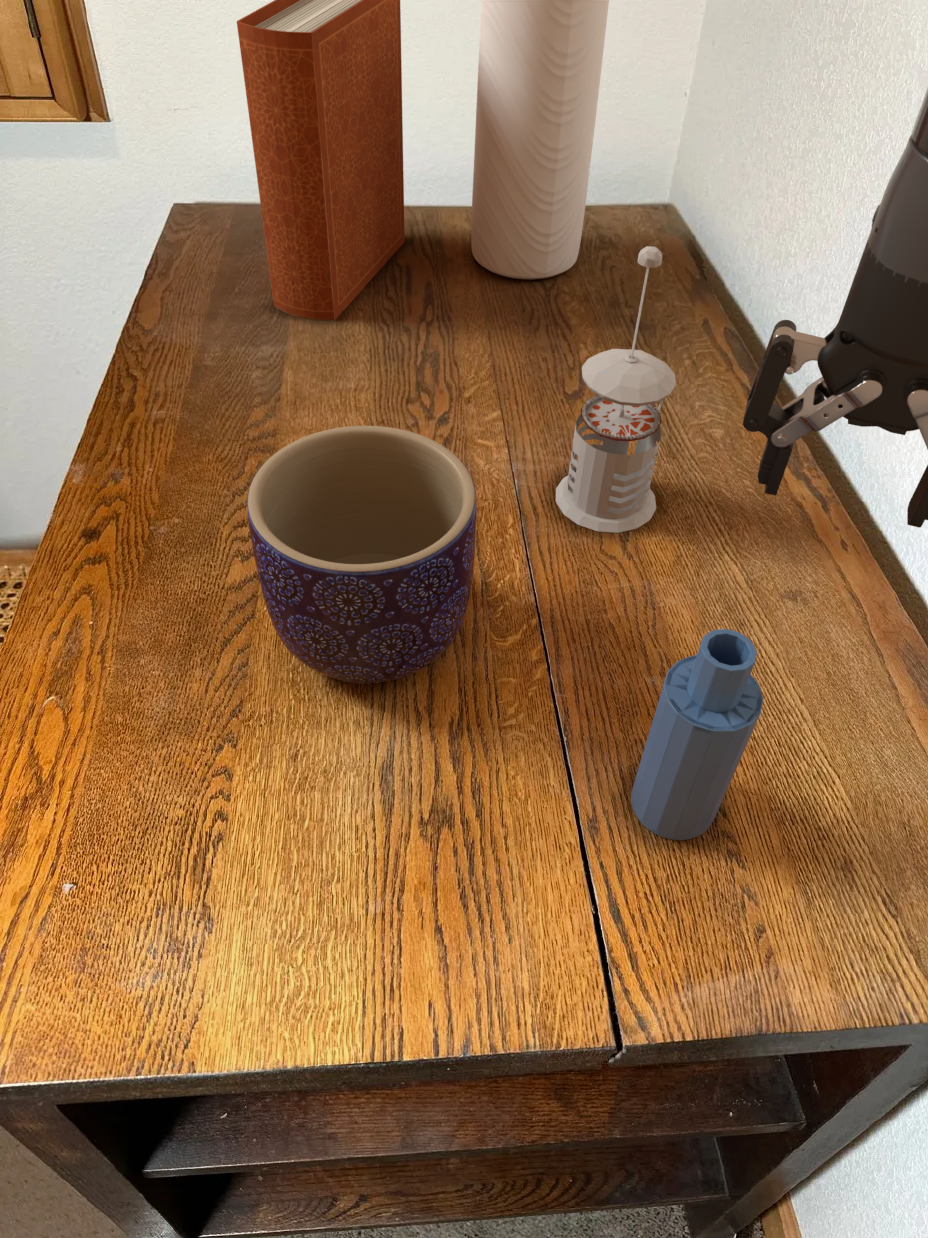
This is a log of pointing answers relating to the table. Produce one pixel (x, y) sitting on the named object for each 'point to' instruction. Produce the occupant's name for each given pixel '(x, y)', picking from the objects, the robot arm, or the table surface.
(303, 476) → the planter
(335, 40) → the book
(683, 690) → the blue bottle
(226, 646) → the table surface
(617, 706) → the table surface
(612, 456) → the french press
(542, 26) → the vase
